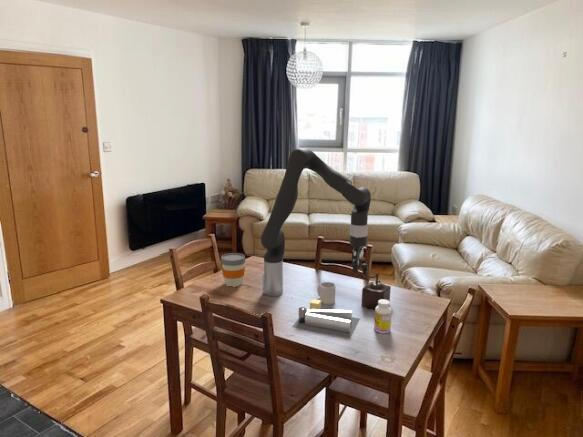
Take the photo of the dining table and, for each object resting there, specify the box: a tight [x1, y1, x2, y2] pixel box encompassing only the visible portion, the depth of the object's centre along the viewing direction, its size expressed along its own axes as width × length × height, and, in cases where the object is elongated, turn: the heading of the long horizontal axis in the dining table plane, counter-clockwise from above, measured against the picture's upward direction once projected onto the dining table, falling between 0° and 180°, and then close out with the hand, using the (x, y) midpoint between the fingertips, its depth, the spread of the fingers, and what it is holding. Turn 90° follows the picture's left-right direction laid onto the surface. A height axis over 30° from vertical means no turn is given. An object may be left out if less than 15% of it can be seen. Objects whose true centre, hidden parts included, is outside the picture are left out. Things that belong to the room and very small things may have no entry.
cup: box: [317, 281, 337, 305], centre depth 203 cm, size 7×10×9 cm
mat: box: [291, 308, 361, 339], centre depth 182 cm, size 25×18×1 cm
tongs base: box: [298, 306, 351, 332], centre depth 178 cm, size 23×4×6 cm, turn 69°
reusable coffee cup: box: [220, 252, 246, 287], centre depth 222 cm, size 12×13×15 cm
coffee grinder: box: [360, 263, 392, 312], centre depth 199 cm, size 16×11×18 cm
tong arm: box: [306, 308, 353, 321], centre depth 182 cm, size 19×2×4 cm, turn 87°
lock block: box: [309, 298, 322, 310], centre depth 189 cm, size 4×4×6 cm
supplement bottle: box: [373, 299, 393, 334], centre depth 175 cm, size 7×7×13 cm
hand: (357, 269), depth 187 cm, fingers open, 8 cm apart
